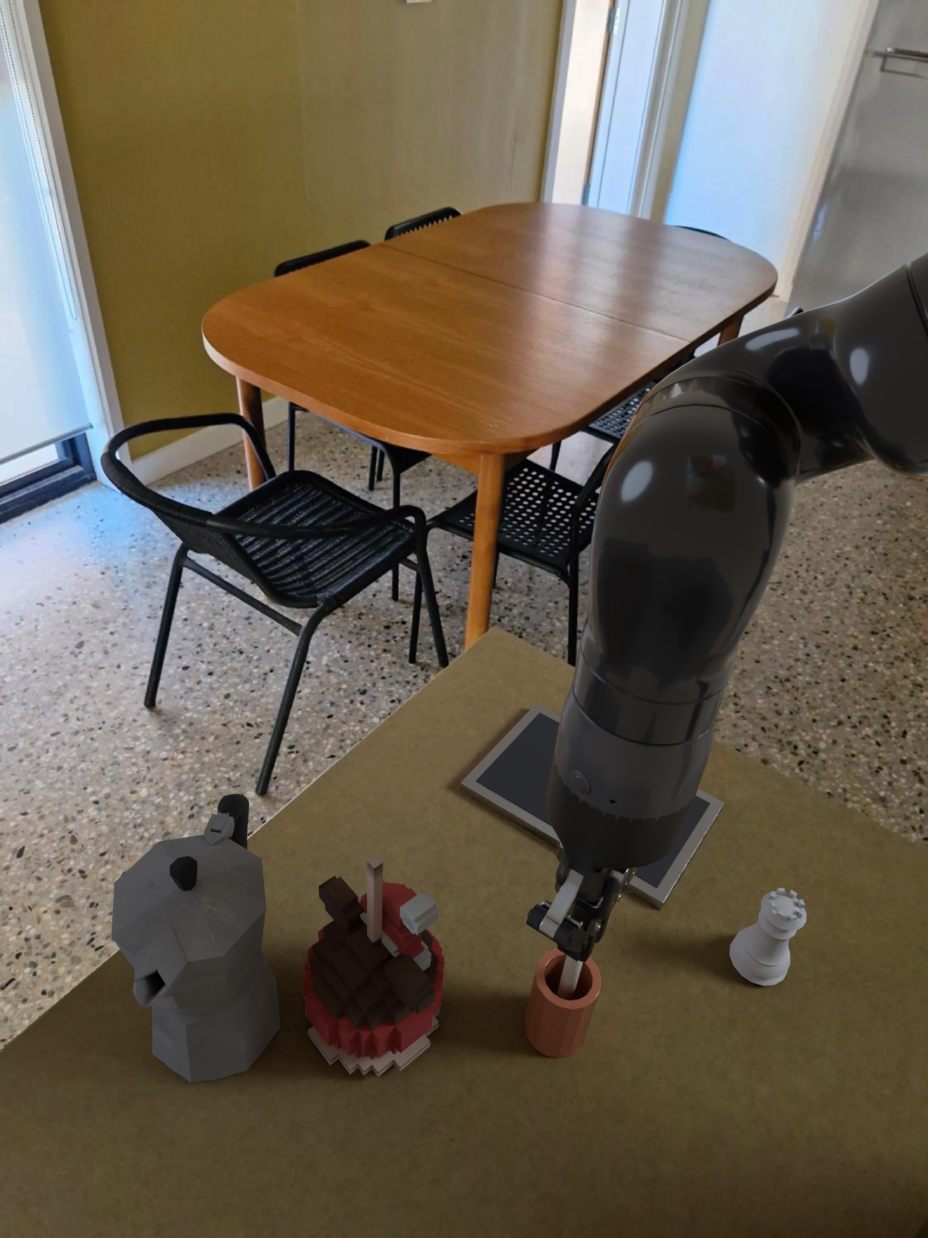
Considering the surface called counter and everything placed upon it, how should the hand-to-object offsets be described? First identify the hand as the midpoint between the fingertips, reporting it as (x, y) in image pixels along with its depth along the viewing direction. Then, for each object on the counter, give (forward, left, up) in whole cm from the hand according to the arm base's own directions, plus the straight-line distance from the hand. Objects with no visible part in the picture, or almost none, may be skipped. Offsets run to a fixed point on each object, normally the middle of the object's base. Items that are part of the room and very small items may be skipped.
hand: (579, 940), depth 56 cm
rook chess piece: (-10, -14, -12) cm, 21 cm away
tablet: (+8, -20, -12) cm, 24 cm away
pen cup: (0, 0, -12) cm, 12 cm away
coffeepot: (+20, +13, -12) cm, 27 cm away
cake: (+11, +7, -12) cm, 18 cm away
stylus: (0, 0, -8) cm, 8 cm away
